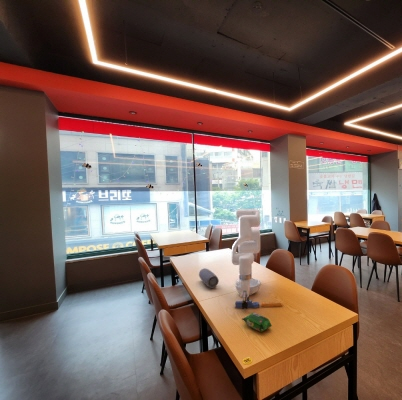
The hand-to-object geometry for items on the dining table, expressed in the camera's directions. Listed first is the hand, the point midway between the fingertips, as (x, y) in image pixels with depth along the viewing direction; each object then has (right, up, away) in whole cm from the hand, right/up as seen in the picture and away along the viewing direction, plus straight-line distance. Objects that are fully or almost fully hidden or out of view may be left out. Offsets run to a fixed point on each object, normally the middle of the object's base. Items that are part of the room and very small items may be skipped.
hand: (245, 304), depth 137 cm
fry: (+16, -1, +1) cm, 16 cm away
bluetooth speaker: (-34, -1, +36) cm, 49 cm away
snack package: (+9, -1, -22) cm, 23 cm away
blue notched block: (+1, -1, 0) cm, 2 cm away
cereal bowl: (-1, -1, +20) cm, 20 cm away
